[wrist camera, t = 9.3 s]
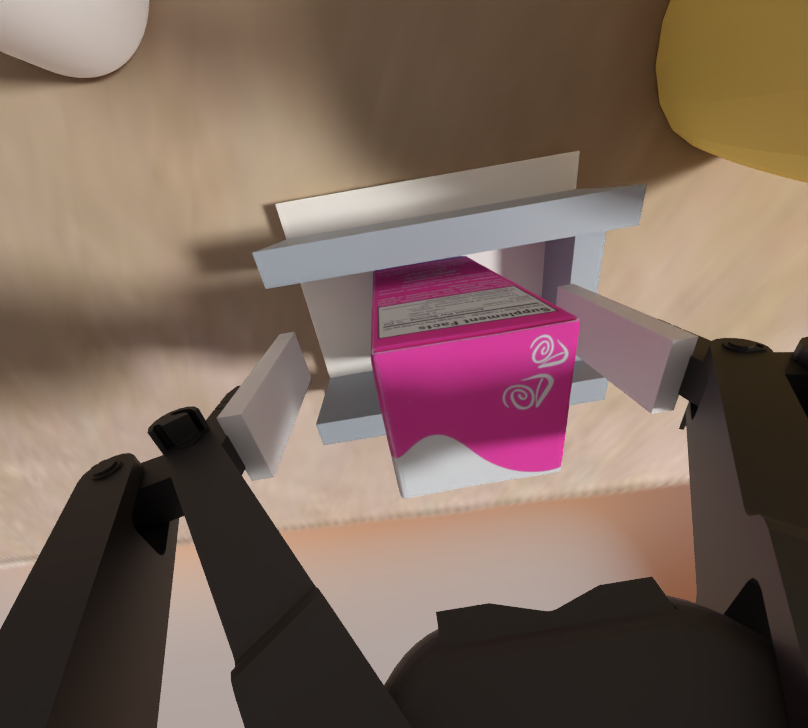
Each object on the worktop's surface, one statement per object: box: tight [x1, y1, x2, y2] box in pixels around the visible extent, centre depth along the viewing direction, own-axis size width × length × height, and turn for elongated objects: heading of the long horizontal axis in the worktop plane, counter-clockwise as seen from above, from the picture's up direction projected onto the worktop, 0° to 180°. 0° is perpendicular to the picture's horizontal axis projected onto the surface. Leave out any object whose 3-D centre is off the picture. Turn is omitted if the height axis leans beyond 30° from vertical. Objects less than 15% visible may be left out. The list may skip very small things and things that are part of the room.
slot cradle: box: [252, 150, 647, 445], centre depth 17 cm, size 16×14×6 cm
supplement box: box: [371, 256, 580, 499], centre depth 14 cm, size 6×6×12 cm
